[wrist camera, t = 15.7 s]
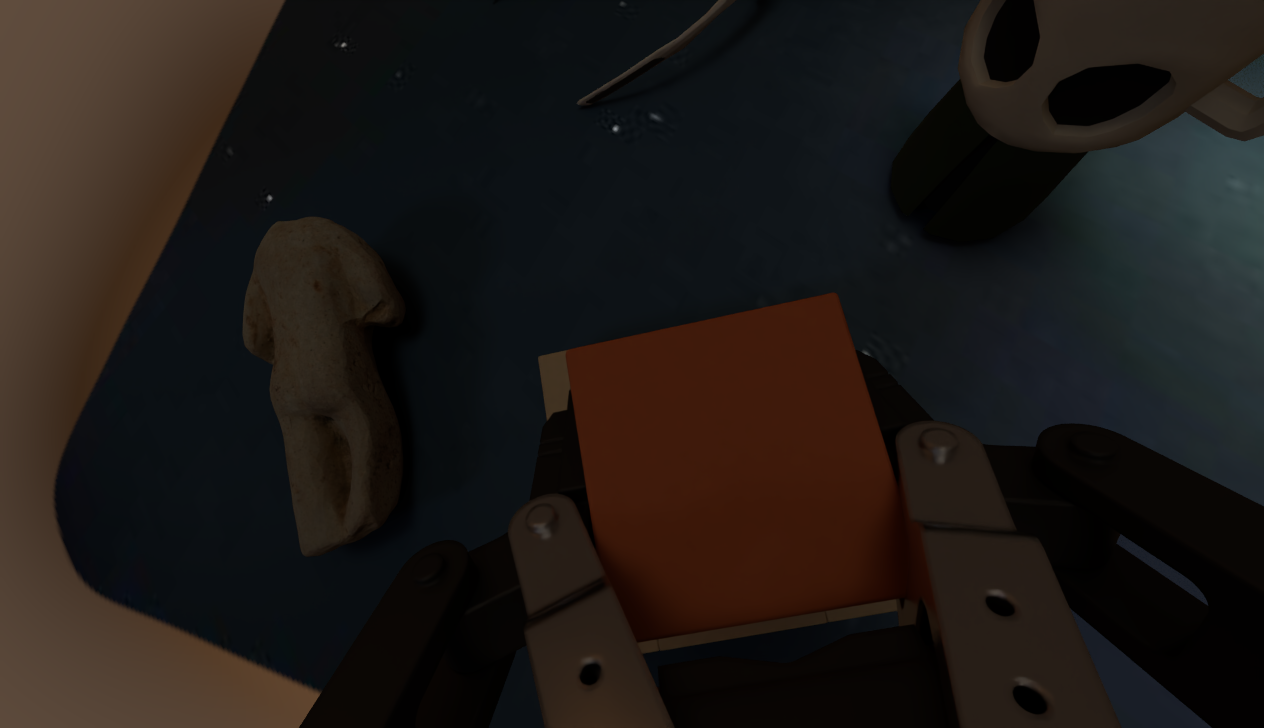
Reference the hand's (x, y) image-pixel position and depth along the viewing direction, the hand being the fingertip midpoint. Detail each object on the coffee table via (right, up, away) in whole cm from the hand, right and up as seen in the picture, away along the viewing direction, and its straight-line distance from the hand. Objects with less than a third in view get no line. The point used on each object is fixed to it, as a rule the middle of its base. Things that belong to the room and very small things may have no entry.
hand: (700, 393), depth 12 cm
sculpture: (-15, -1, +12) cm, 20 cm away
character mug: (+14, +9, +11) cm, 20 cm away
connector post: (+1, -3, +5) cm, 5 cm away
